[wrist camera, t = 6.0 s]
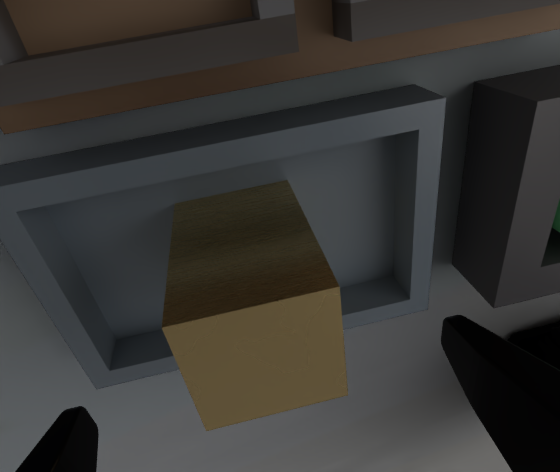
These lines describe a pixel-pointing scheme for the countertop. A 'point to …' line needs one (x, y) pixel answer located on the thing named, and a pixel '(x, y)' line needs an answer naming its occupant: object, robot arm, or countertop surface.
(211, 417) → the block
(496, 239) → the button base
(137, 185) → the tray
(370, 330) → the countertop surface
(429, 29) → the pallet
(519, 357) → the robot arm
